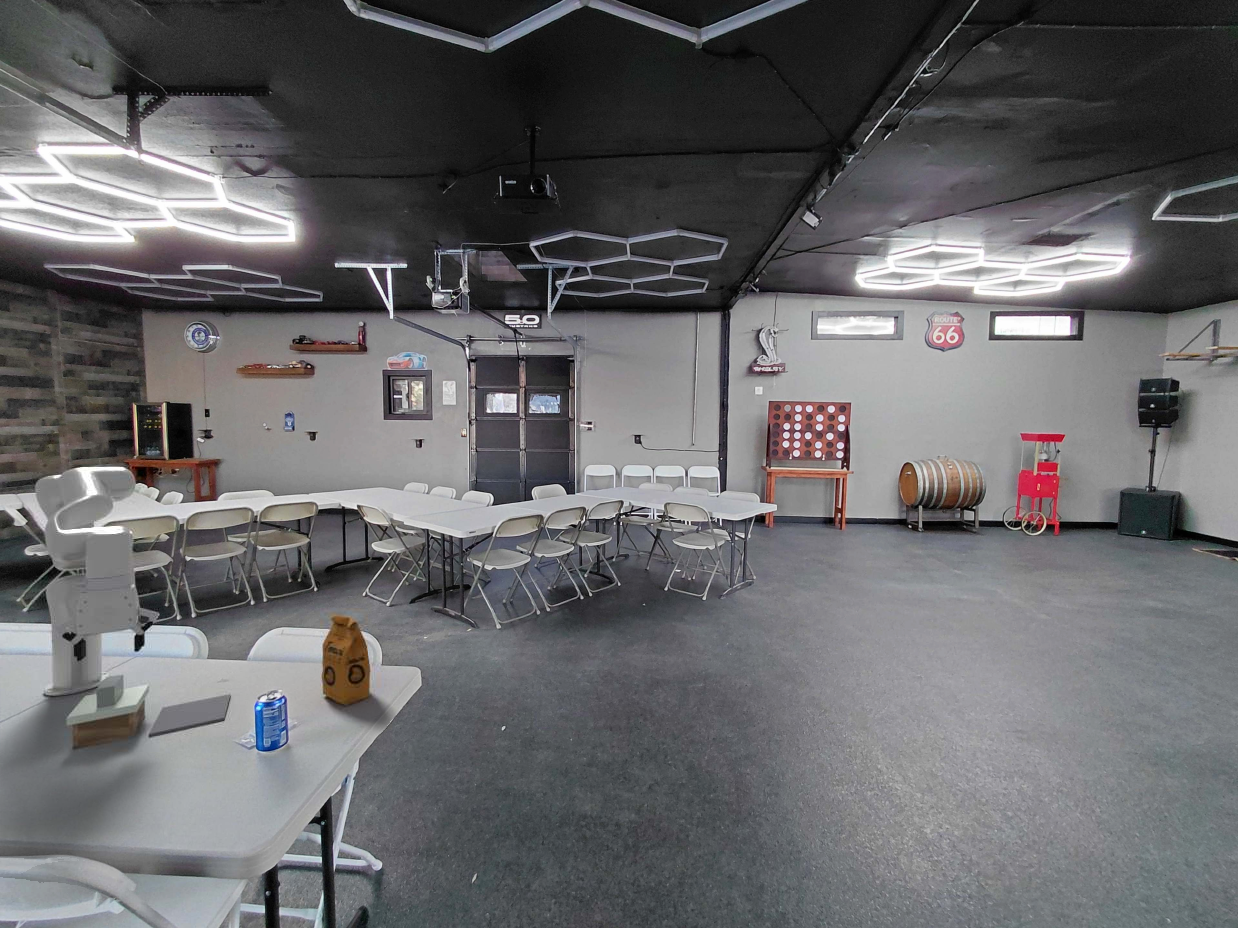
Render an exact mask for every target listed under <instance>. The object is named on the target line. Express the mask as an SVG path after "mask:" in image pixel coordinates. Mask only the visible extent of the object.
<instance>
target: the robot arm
mask: <svg viewBox="0 0 1238 928" xmlns="http://www.w3.org/2000/svg"><path fill="white" fill-rule="evenodd" d="M136 486H137V485H136V478H135V475H134V474H133V472H132V471H131V470H130V469H128V468H127V467H122V466H100V467H99V466H92V467H91V466H90V467H88V466H87V467H86V466H84V467H74V468H70V469H68V470H65V471H64V472H62V474H57V475H55V474H54V475H48V476H44V477H41V478H40V479H38V480H37V481H36V483H35V486H34V487H35V488H34V489H35V490H34V491H35V498H36V500H37V503H38V506H39V508H40V509H41V511H42V513H43V514H44V515H45V517H46V519H47V521H46V524H45V527H44V538H45V539H44V540H45V545H46V547H47V548H46V549H47V552H48V554H49V556H50V557H51V558H50V559H52V560H51V561H52V564H53V566H54V567H55V568H56V569H57V570H58V571H77V570H84V569H85V572H84V573H79V574H78V573H77V574H72V575H71V574H70V575H66V576H62V577H59V578H56V579H54V580H52V581H51V582H50V583H49V584H48V585H47V587H46V590H45V597H46V598H45V599H46V601H47V605H48V610H49V615H50V624H51V666H52V667H51V668H52V669H51V673H52V674H51V675H52V676H51V677H52V679H51V680H52V682H51V683H49V684H48V685H46V686H45V687H44V688H43V694H45V695H46V696H53V697H55V696H56V697H57V696H58V697H59V696H66V695H73V694H77V693H81V692H85V691H88V690H91V689H94V688H96V687H97V688H98V687H99V685H100V684H101V683H102V682H103V681H104V679H105V678H106V677H110V675H111V674H110V673H109V672H106V671H103V653H102V651H103V650H102V649H103V647H102V645H103V643H102V642H103V641H102V639H103V637H102V634H107V633H109V634H110V633H116V632H121V631H127V630H131V631H132V632H134V633H135V635H134V637H133V640H134V642H133V644H134V645H133V646H134V648H133V649H134V652H135V653H138V652H140V651H141V650H142V647H144V646H145V644H146V643H145V641H146V640H145V635H146V634H145V633H146V631H148V630H149V629H150V628H151V627H152V626H153V625H154V624H155V622H156V621H157V619H158V618H159V616H160V612H158V611H153V610H150V609H147V608H142V607H141V606H140V599H139V595H138V590H137V587H136V576H135V565H134V553H133V547H134V541H135V540H134V539H135V538H134V533H133V532H132V531H130V529H129V528H127V527H126V526H121V525H115V526H101V527H100V526H99V527H95V522H98V521H100V520H102V519H104V518H106V517H107V516H108V515H109V514H110V513H111V512H112V510H113V509H114V508H113V507H114V503H117V502H122V501H124V500H126V499H127V498H130V497H131V496H132V495H133V493H134V492H135V489H136ZM141 617H147V618H148V621H147V622H146V623H145V624H142V623H141V622H140V621H141Z"/></svg>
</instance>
